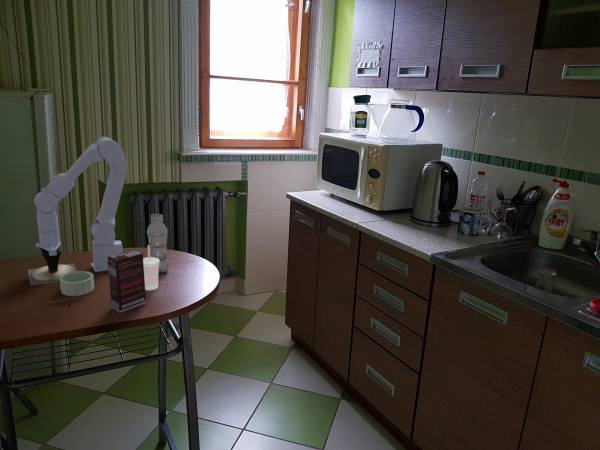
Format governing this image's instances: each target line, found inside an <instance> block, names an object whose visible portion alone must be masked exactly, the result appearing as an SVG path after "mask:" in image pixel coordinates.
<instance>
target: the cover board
mask: <svg viewBox="0 0 600 450" xmlns="http://www.w3.org/2000/svg"><path fill="white" fill-rule="evenodd" d="M36 269H37V268H36ZM70 272H74V269H73V267H71V266H68V265H65V264H58V270H57V271H55V272H50V271H49V268H48V265H46V266H45V265H44V266H41V267H40V268H39V269H37V270H35V271H34V272H33V273H32V276H33V278H34V279H35V280H39V281H55V280H60V279H59V278H60V277H61V276H62V275H64V274H67V273H70Z"/></svg>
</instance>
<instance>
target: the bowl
mask: <svg viewBox="0 0 600 450" xmlns="http://www.w3.org/2000/svg"><path fill="white" fill-rule="evenodd" d="M59 279H60V281H59V285H60V287H59V288H60V292H61V294H62V295H64V296H67V297H77V298H79V297H81V296H85V295H88V294H90V293H91V292H92V291H94V289H95V278H94V274H93V273H92V272H91V271H87V270H86V271H84V270H82V271H81V270H77V271H76V272H70V273H67V274H64V275H62V276H61V277H60V278H59Z"/></svg>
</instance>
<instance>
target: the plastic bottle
mask: <svg viewBox="0 0 600 450" xmlns="http://www.w3.org/2000/svg"><path fill="white" fill-rule="evenodd" d="M163 221H164V217H163V214H160V213H154V214H151V215H150V224H149V225H148V226H147V230H146V235H147V238H148V245H149V250H150V257H155V258H158V259H159V260H160V261H159V270H158V274H162V273H166V272H168V270H169V268H170V262H169V258H168V251H167V239H168V228H167V227H166V225H165V223H163Z"/></svg>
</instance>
